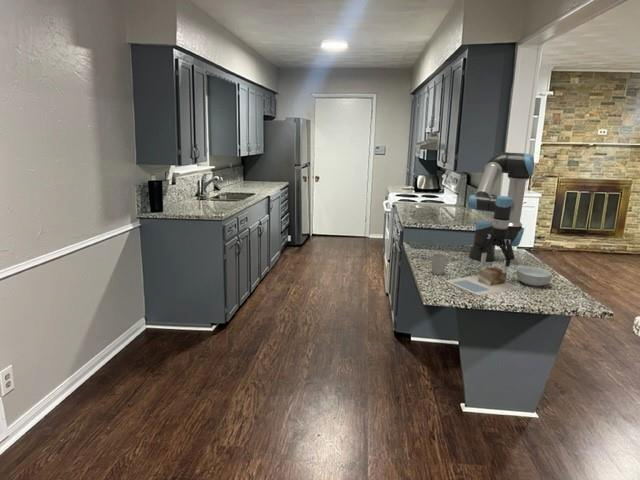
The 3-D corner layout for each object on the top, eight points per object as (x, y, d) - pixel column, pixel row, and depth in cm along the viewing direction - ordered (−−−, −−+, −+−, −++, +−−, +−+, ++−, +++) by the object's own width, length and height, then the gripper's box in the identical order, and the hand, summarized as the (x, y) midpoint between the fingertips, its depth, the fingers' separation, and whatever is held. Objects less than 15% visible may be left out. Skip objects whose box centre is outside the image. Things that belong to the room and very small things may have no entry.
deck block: (493, 279, 235) (495, 267, 233) (504, 283, 229) (506, 271, 227) (477, 281, 229) (479, 269, 227) (488, 286, 223) (490, 273, 221)
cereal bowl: (516, 276, 242) (518, 264, 240) (550, 283, 234) (553, 270, 232) (512, 285, 228) (514, 271, 226) (548, 292, 220) (551, 278, 218)
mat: (484, 275, 242) (484, 274, 242) (520, 288, 223) (520, 287, 223) (444, 281, 227) (444, 280, 227) (478, 296, 209) (478, 295, 209)
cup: (445, 272, 242) (448, 254, 239) (444, 277, 234) (447, 258, 232) (430, 270, 244) (432, 252, 242) (428, 274, 237) (431, 256, 235)
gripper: (474, 222, 230) (469, 262, 235) (516, 233, 209) (509, 276, 214) (485, 222, 234) (479, 261, 239) (526, 232, 213) (519, 275, 218)
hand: (493, 268), depth 227 cm, fingers open, 13 cm apart
